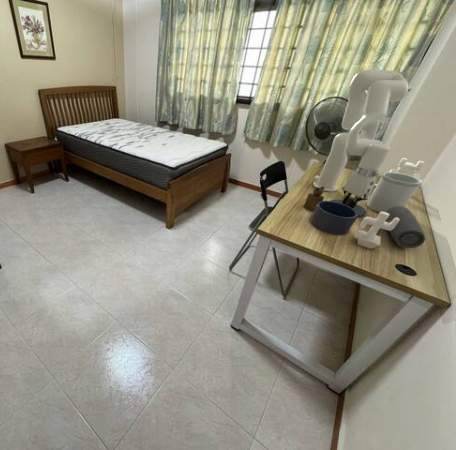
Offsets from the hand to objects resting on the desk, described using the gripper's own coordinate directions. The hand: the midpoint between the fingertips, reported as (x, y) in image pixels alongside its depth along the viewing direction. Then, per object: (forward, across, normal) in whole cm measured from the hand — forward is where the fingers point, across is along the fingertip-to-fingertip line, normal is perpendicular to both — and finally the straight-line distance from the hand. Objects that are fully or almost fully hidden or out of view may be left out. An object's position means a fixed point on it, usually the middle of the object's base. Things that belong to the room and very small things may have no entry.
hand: (347, 205), depth 122 cm
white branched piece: (+2, +12, -49) cm, 51 cm away
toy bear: (+2, +5, +17) cm, 18 cm away
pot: (+2, -10, +21) cm, 23 cm away
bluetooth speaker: (+3, -23, -2) cm, 23 cm away
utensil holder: (+3, -3, -21) cm, 21 cm away
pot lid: (+1, 0, 0) cm, 1 cm away
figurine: (+3, -25, +18) cm, 31 cm away
